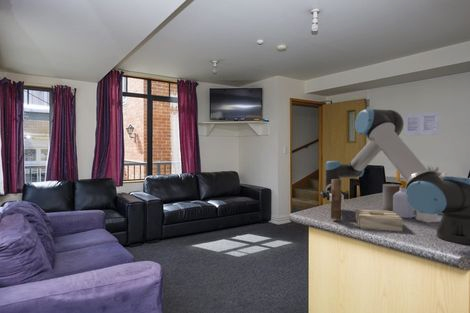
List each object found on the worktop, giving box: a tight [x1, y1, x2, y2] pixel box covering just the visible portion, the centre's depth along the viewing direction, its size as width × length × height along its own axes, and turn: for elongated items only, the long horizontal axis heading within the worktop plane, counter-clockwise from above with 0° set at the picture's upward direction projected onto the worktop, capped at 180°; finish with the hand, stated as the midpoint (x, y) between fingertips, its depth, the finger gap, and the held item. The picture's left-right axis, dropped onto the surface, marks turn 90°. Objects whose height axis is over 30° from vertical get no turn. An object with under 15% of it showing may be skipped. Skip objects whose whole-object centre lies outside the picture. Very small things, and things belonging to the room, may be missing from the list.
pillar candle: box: [382, 182, 402, 211], centre depth 170 cm, size 10×10×15 cm
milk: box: [415, 211, 438, 223], centre depth 143 cm, size 6×6×22 cm
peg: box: [330, 178, 342, 220], centre depth 142 cm, size 4×4×18 cm
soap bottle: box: [393, 170, 415, 219], centre depth 152 cm, size 9×9×25 cm
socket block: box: [355, 209, 404, 232], centre depth 135 cm, size 16×16×5 cm
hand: (336, 198), depth 137 cm, fingers closed on peg, 4 cm apart
